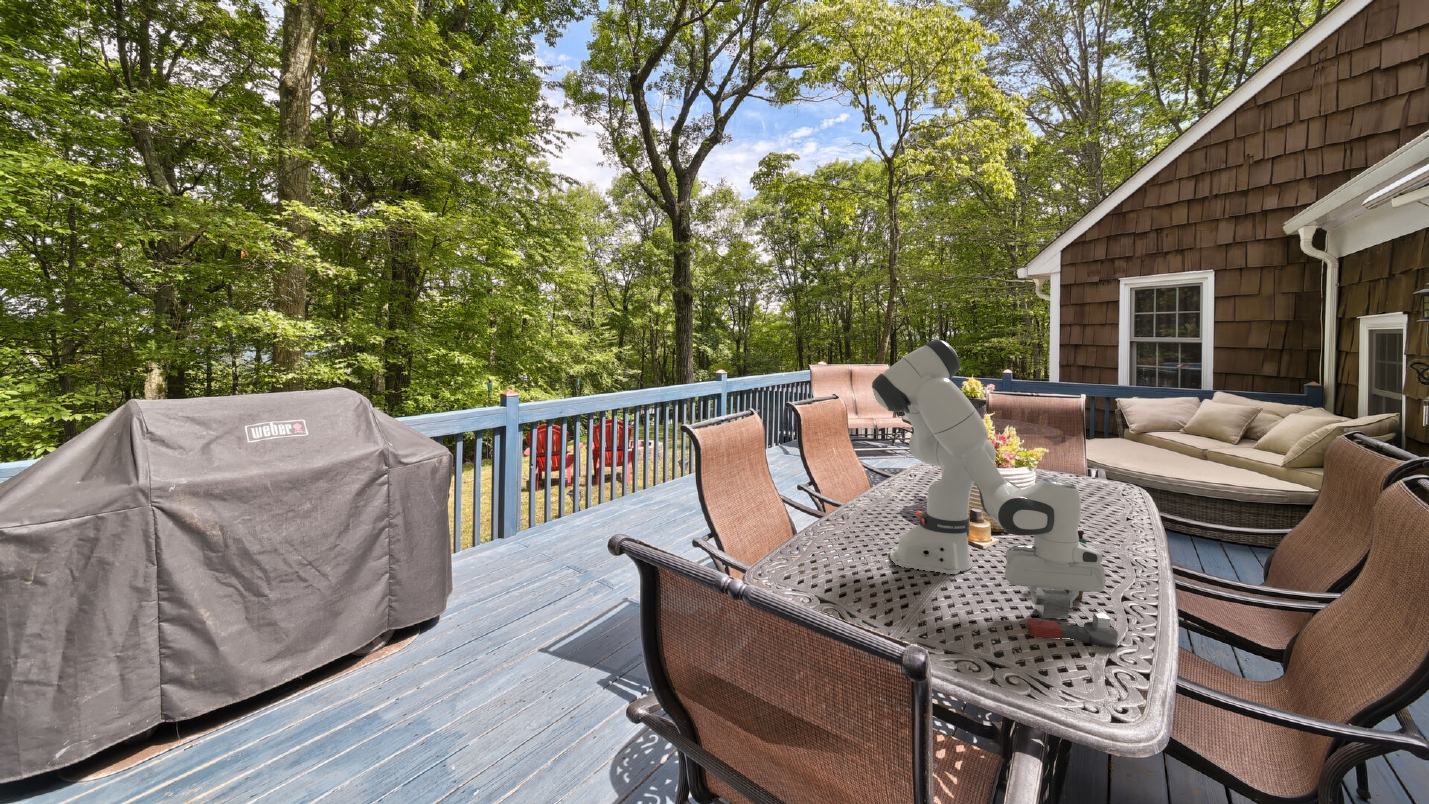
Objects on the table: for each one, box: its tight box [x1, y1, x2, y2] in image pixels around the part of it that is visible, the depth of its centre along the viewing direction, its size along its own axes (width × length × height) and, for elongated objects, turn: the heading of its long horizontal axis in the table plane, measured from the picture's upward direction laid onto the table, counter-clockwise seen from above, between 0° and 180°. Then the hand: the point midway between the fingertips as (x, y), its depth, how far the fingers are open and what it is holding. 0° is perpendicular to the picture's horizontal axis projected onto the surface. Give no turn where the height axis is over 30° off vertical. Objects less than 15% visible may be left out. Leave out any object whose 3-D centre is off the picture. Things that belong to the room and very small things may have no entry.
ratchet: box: [1025, 612, 1119, 649], centre depth 118 cm, size 17×6×6 cm, turn 78°
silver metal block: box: [1034, 587, 1070, 620], centre depth 127 cm, size 5×5×6 cm
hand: (1051, 605), depth 127 cm, fingers closed on silver metal block, 5 cm apart
